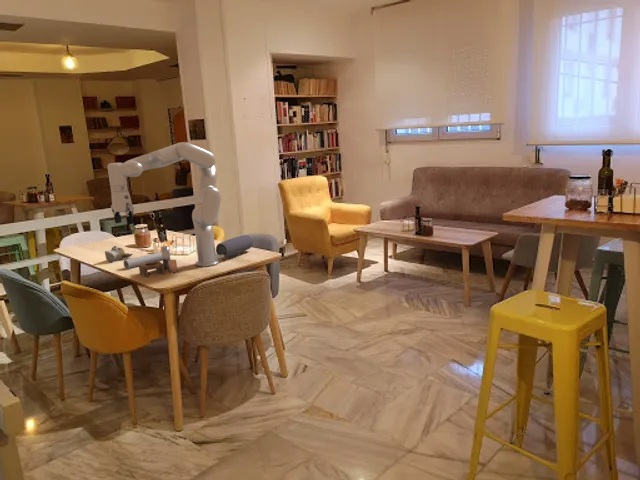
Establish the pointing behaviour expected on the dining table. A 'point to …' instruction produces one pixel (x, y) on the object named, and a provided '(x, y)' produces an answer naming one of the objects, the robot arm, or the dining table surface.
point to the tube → (142, 260)
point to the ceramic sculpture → (116, 254)
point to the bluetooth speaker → (234, 246)
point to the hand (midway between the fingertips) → (124, 223)
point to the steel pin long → (165, 256)
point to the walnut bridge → (151, 267)
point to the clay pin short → (172, 266)
